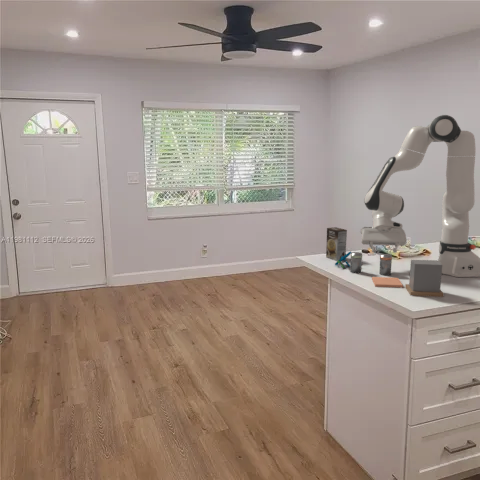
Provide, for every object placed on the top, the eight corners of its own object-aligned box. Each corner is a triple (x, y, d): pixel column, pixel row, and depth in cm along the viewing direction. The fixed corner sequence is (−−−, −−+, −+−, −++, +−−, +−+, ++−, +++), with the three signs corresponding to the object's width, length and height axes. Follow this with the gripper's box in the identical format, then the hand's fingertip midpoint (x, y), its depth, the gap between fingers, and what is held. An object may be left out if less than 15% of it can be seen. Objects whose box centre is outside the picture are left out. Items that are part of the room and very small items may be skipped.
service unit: (436, 288, 174) (438, 259, 172) (443, 296, 164) (445, 265, 162) (405, 287, 176) (407, 258, 174) (410, 295, 167) (412, 264, 164)
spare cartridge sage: (360, 270, 202) (362, 252, 201) (361, 273, 197) (362, 254, 196) (349, 270, 203) (350, 251, 202) (350, 273, 198) (351, 254, 197)
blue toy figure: (340, 259, 218) (352, 248, 212) (348, 268, 217) (360, 257, 210) (329, 266, 211) (341, 255, 204) (337, 275, 209) (350, 264, 202)
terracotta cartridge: (390, 272, 198) (391, 254, 197) (391, 275, 193) (393, 256, 192) (378, 272, 199) (379, 253, 198) (380, 275, 194) (381, 256, 192)
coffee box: (325, 257, 230) (326, 227, 226) (334, 255, 232) (335, 226, 229) (336, 260, 222) (337, 230, 218) (346, 259, 224) (347, 229, 221)
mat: (397, 280, 187) (397, 277, 187) (402, 287, 176) (402, 285, 176) (371, 279, 189) (371, 276, 189) (375, 286, 178) (375, 284, 178)
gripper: (361, 223, 205) (362, 247, 198) (405, 224, 202) (408, 248, 194) (359, 230, 210) (360, 254, 203) (403, 231, 207) (405, 255, 199)
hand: (384, 251), depth 198 cm, fingers open, 8 cm apart
